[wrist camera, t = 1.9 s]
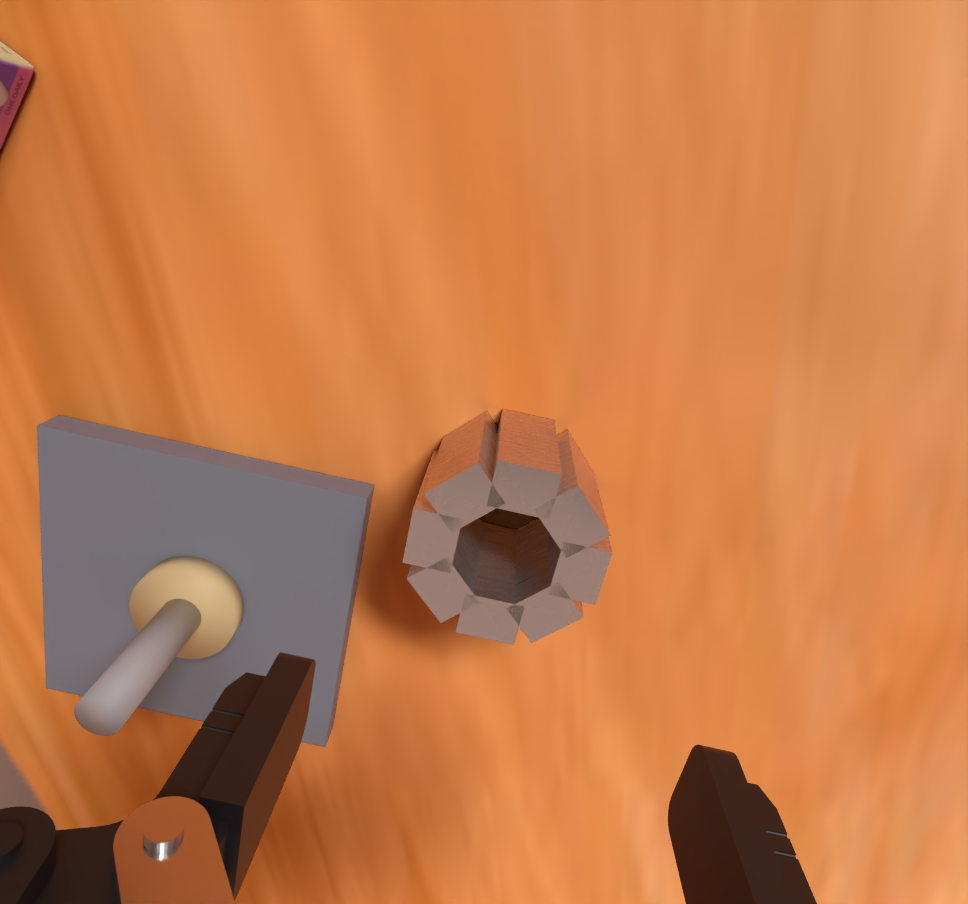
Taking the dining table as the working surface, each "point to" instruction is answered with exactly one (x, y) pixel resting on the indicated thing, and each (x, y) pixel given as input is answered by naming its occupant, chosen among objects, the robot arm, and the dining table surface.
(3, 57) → the box
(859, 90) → the dining table surface
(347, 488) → the shaft stand
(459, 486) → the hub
